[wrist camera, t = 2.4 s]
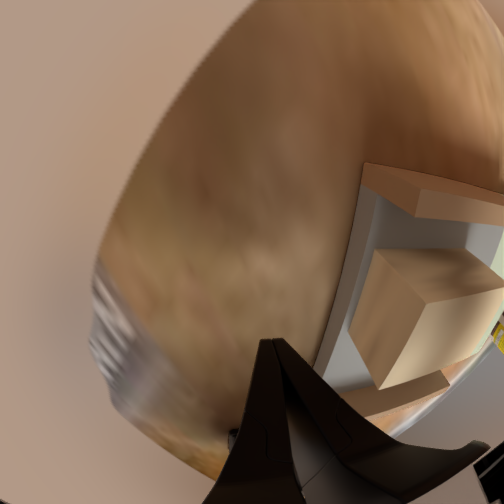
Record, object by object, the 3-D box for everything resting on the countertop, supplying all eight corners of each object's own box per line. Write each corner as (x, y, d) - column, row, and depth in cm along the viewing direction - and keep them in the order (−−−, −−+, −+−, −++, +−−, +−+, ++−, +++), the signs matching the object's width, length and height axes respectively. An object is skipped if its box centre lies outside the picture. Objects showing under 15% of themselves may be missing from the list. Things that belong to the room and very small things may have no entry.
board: (305, 389, 18) (319, 433, 15) (363, 162, 11) (421, 188, 7) (471, 343, 21) (489, 367, 18) (532, 204, 14) (562, 224, 10)
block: (465, 248, 12) (509, 285, 9) (436, 316, 15) (468, 357, 11) (374, 248, 11) (426, 303, 8) (347, 332, 14) (378, 390, 10)
